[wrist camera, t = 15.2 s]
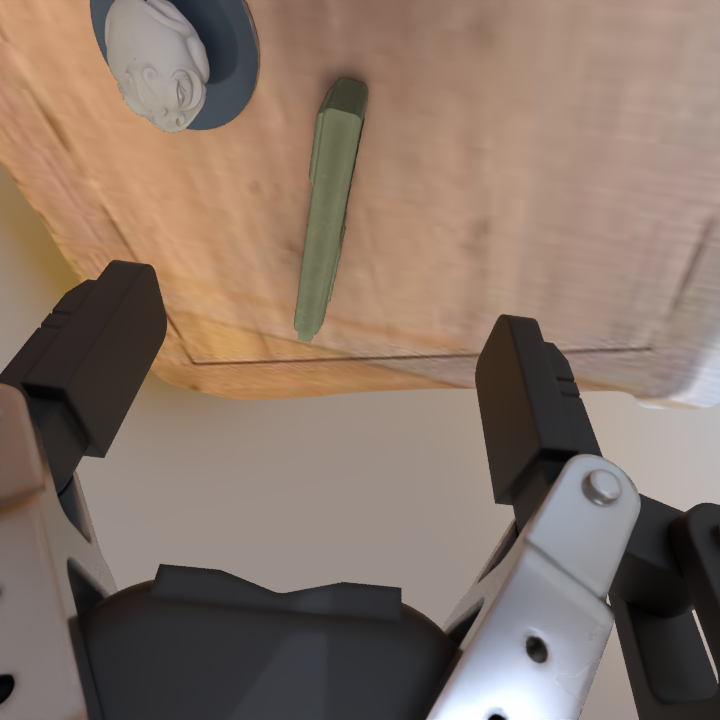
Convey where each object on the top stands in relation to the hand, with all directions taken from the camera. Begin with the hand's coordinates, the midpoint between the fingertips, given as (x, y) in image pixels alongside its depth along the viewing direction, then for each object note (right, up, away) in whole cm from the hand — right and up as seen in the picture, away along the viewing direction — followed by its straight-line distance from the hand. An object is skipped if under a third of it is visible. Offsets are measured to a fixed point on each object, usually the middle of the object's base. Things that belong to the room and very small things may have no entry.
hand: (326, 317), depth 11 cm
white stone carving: (-12, +20, +20) cm, 31 cm away
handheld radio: (-2, +11, +30) cm, 32 cm away
